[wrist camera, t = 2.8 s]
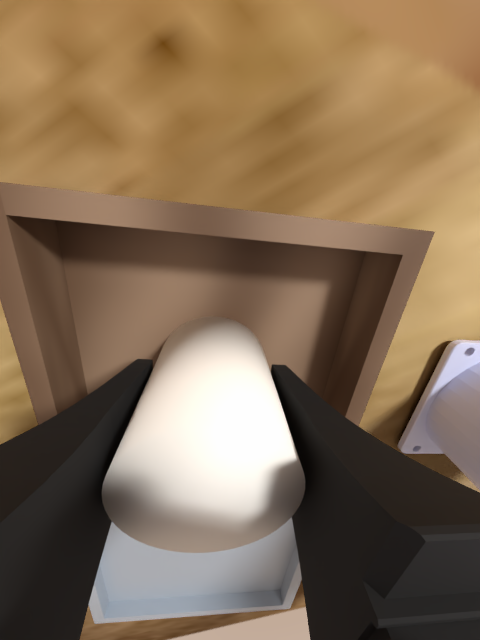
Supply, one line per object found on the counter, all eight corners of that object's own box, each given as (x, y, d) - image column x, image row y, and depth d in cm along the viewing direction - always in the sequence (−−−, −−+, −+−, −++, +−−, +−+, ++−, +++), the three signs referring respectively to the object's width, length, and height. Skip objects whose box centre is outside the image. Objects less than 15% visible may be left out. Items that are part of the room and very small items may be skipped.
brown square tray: (385, 228, 10) (434, 231, 8) (314, 454, 15) (330, 496, 13) (32, 189, 8) (-37, 178, 6) (88, 455, 14) (62, 502, 11)
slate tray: (327, 467, 16) (337, 490, 14) (285, 584, 22) (289, 608, 21) (70, 469, 14) (53, 496, 13) (103, 595, 20) (94, 623, 19)
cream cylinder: (271, 320, 11) (325, 426, 5) (257, 405, 13) (286, 548, 7) (158, 312, 10) (86, 423, 5) (161, 403, 12) (113, 557, 7)
